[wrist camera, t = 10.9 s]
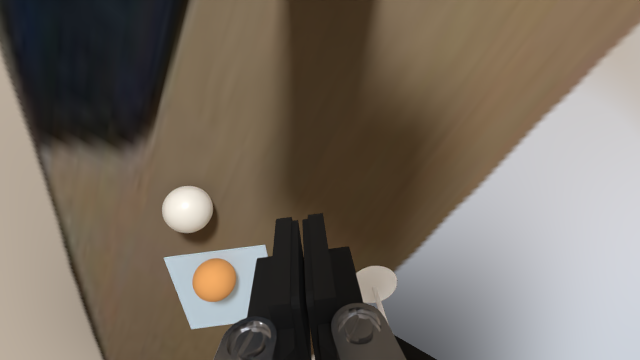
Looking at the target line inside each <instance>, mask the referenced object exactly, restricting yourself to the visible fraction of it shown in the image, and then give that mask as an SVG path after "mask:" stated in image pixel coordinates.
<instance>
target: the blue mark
mask: <svg viewBox="0 0 640 360" xmlns="http://www.w3.org/2000/svg"><path fill="white" fill-rule="evenodd" d="M262 257H268V255H267V251H266V246H265V245H259V246H251V247H243V248H235V249H227V250H219V251H211V252H203V253H195V254H187V255H179V256H171V257H164V260H165V263H166V265H167V268H168V270H169V273H170V275H171V278H172V281H173V283H174V286H175V288H176V291H177V293H178V296H179V298H180V301H181V304H182V306H183V309H184V311H185V314H186V316H187V319H188V321H189V324H190V327H191V329H196V328H203V327H211V326H219V325H226V324H234V323H237V322H238V321H240V320H242V319H245V318H247V314H248V308H249V302H250V296H251V290H252V284H253V278H254V272H255V266H256V261H257V258H262ZM213 258H220V259H224V260H226V261H228V262H229V263H230V264H231V265H232V266H233V268H234V270H235V272H236V284H235V287H234V289H233V291H232V292H231V293H230V294H229V295H228V296H227V297H226V298H224V299H222V300H220V301H217V302H208V301H205V300H202V299H201V298H199V297H198V296H197V295H196V293H195V291H194V289H193V285H192V280H193V275H194V273H195V271H196V269H197V268H198V267H199V265H201V264H202V263H203V262H205V261H207V260H209V259H213Z"/></svg>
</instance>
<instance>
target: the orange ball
mask: <svg viewBox="0 0 640 360" xmlns="http://www.w3.org/2000/svg"><path fill="white" fill-rule="evenodd" d="M235 284H236V272H235V270H234V268H233V266H232V265H231V264H230V263H229V262H228V261H226V260H224V259H220V258H213V259H209V260H207V261H205V262H203V263H202V264H201V265H199V267H198V268H197V269H196V271H195V273H194V275H193V280H192V285H193V289H194V291H195V293H196V295H197V296H198V297H199V298H201V299H202V300H205V301H208V302H217V301H220V300H222V299H224V298H226V297H227V296H228V295H229V294H230V293H231V292H232V291H233V289H234V287H235Z"/></svg>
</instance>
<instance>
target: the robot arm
mask: <svg viewBox="0 0 640 360" xmlns="http://www.w3.org/2000/svg"><path fill="white" fill-rule="evenodd" d="M302 222H303V245H304V257H303V250H302V244H301V237H300V230H299V224H298V220H296V221H292V217H288V218H280V219H276V226H275V236H274V247H273V256H270V257H262V258H257V261H256V266H255V272H254V278H253V284H252V290H251V296H250V302H249V308H248V314H247V318H245V319H242V320H240V321H238V322H237V323H235V324H234V325H232V326H231V327H230V328H229V329H228V330H227V331H226V333H225V335H224V336H223V338H222V340H221V343H220V345H219V348H218V350H217V353H216V355H215V358H214V360H311V341H310V330H311V336H312V342H313V348H314V355H315V360H436V359H435V358H433V357H431V356H430V355H428V354H426V353H424V352H422V351H421V350H419V349H417V348H416V347H414V346H412V345H410V344H409V343H407V342H405V341H404V340H402V339H400V338H398V337H396V336H395V335H394V334H393V333H392V331H391V329H390V327H389V325H388V323H387V321H386V319H385V317H384V316H383V314H382V313H381V312H380V311H379V310H378V309H376V308H375V307H373V306H371V305H368V304H364V303H363V299H362V295H361V291H360V287H359V283H358V279H357V276H356V272H355V268H354V264H353V260H352V256H351V252H350V249H349V247H341V248H333V249H328V244H327V237H326V231H325V225H324V218H323V213H320V214H312V215H308V219H304V220H302Z"/></svg>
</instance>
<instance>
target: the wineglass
mask: <svg viewBox="0 0 640 360" xmlns="http://www.w3.org/2000/svg"><path fill="white" fill-rule="evenodd" d="M356 276H357V279H358V283H359V287H360V291H361V295H362V299H363V302H364V303H376V304H377V307H378V310H379V311H380V312H381V313H382V314H383V316H384V317H385V319H386V321H387V318H386V315H385V312H384V309H383V306H382V303H381V301H383V300H384V299H386V298H388V297H389V296H390V295H391V294H392V293H393V292H394V291H395V289H396V287H397V278H396V275H395V274H394V272H393V271H392V270H390V269H388V268H387V267H383V266H370V267H367V268H363V269H362V270H360V271H358V272H357V273H356ZM387 323H388V321H387ZM388 325H389V324H388Z"/></svg>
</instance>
